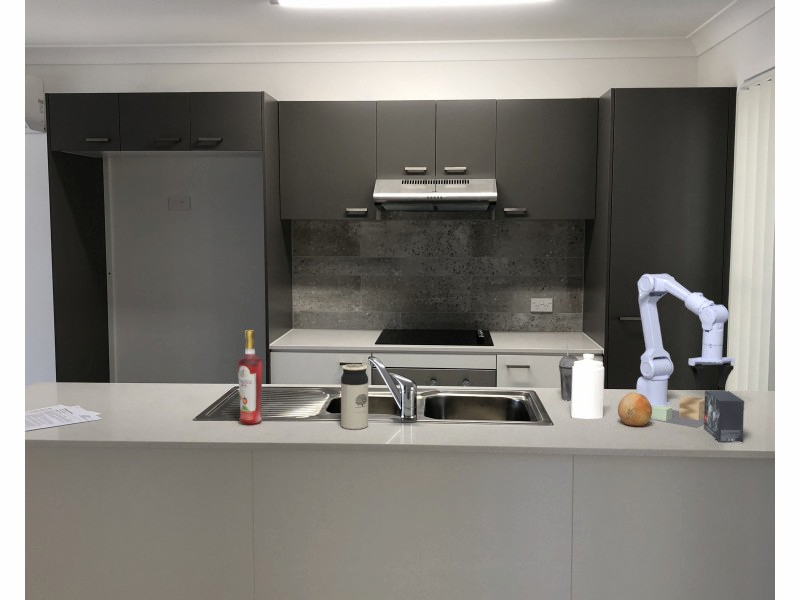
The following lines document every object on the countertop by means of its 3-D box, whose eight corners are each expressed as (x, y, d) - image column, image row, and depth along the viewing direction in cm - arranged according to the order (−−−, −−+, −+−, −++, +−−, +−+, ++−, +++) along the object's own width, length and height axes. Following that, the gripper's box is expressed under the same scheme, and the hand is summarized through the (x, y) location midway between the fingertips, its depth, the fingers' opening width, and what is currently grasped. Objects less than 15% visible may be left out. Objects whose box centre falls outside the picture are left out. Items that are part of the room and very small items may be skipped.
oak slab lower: (678, 416, 223) (679, 407, 223) (686, 413, 227) (686, 404, 227) (698, 420, 219) (698, 411, 219) (705, 416, 223) (705, 407, 223)
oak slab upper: (679, 407, 223) (679, 399, 222) (686, 404, 227) (687, 396, 227) (698, 411, 219) (699, 402, 218) (705, 407, 223) (706, 399, 223)
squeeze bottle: (569, 415, 225) (572, 419, 220) (571, 352, 223) (574, 355, 218) (600, 416, 225) (604, 420, 220) (602, 353, 223) (606, 356, 218)
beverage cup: (581, 401, 244) (583, 344, 242) (560, 401, 244) (561, 343, 242) (576, 397, 251) (578, 340, 250) (555, 396, 251) (557, 340, 250)
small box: (702, 429, 210) (704, 389, 209) (726, 430, 209) (728, 390, 208) (717, 442, 197) (719, 399, 195) (743, 443, 196) (745, 400, 195)
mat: (647, 420, 220) (647, 418, 220) (669, 410, 233) (669, 409, 232) (696, 429, 210) (697, 427, 210) (717, 418, 222) (717, 417, 222)
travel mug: (337, 424, 213) (337, 364, 211) (362, 421, 216) (362, 363, 214) (346, 431, 206) (346, 369, 204) (372, 428, 209) (372, 367, 207)
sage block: (651, 418, 220) (652, 407, 220) (657, 415, 224) (658, 405, 223) (666, 421, 217) (666, 409, 217) (671, 418, 221) (672, 407, 220)
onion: (616, 428, 210) (617, 395, 209) (618, 420, 219) (619, 388, 218) (651, 432, 207) (652, 398, 206) (651, 423, 216) (652, 391, 215)
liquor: (233, 424, 212) (232, 331, 209) (247, 419, 218) (246, 328, 216) (254, 427, 209) (253, 332, 206) (268, 421, 216) (267, 329, 213)
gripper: (699, 346, 214) (696, 391, 216) (742, 345, 217) (739, 389, 218) (685, 343, 221) (683, 386, 222) (727, 342, 224) (725, 384, 225)
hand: (710, 387), depth 221 cm, fingers open, 7 cm apart
